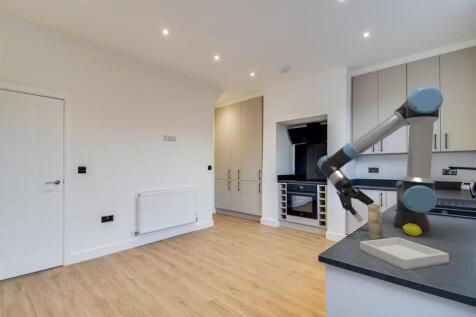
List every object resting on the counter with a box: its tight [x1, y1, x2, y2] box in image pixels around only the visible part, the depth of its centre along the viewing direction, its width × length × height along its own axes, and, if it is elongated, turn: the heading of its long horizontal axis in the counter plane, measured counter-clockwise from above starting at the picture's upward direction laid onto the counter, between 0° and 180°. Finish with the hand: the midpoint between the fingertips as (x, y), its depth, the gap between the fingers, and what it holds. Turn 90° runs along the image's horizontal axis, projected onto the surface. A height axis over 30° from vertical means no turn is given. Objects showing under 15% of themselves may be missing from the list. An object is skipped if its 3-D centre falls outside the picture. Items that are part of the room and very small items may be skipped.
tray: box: [359, 236, 450, 271], centre depth 84 cm, size 18×18×3 cm
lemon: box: [402, 223, 423, 237], centre depth 107 cm, size 7×5×5 cm
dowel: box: [367, 203, 383, 240], centre depth 104 cm, size 5×5×14 cm
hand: (371, 218), depth 105 cm, fingers open, 13 cm apart
